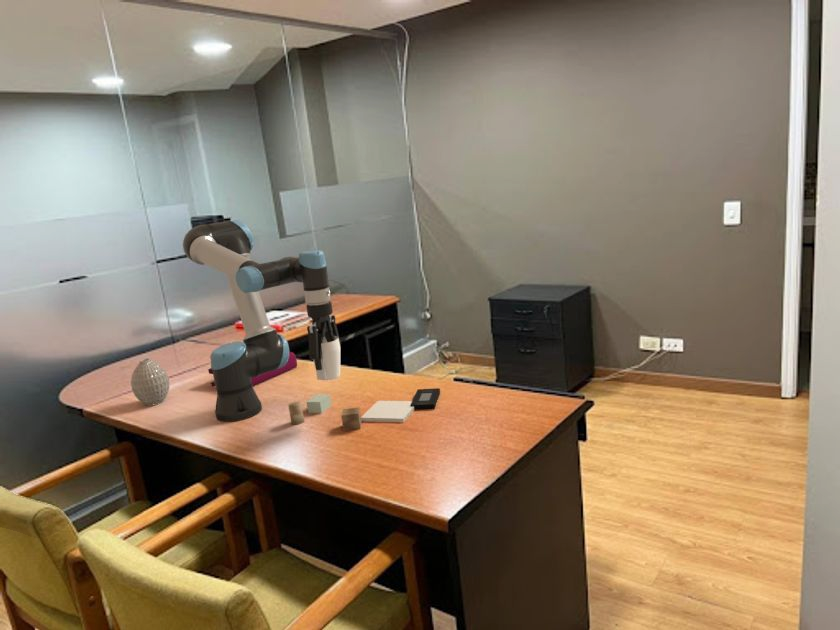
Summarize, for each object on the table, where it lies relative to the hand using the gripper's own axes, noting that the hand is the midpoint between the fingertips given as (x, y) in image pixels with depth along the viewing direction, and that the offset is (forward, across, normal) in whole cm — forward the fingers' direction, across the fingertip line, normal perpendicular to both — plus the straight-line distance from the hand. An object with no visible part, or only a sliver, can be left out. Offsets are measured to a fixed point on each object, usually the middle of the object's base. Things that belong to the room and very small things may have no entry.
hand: (329, 374), depth 191 cm
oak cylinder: (+15, -3, +12) cm, 19 cm away
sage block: (+15, +8, +10) cm, 20 cm away
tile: (+15, +6, -16) cm, 23 cm away
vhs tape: (+15, +16, -25) cm, 33 cm away
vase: (+16, +11, +81) cm, 83 cm away
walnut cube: (+15, -5, -8) cm, 18 cm away
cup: (+1, 0, 0) cm, 1 cm away
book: (+16, +40, +56) cm, 71 cm away
